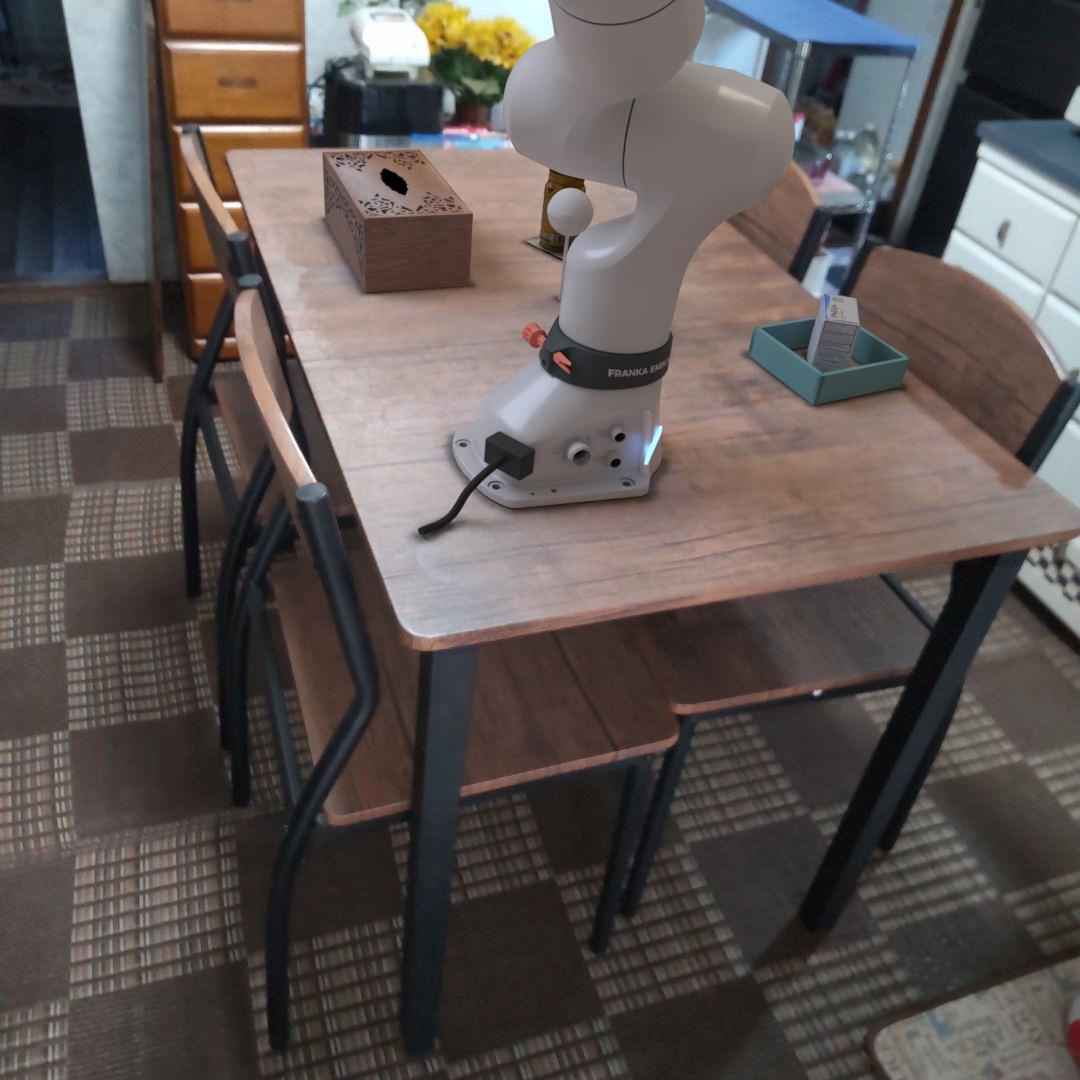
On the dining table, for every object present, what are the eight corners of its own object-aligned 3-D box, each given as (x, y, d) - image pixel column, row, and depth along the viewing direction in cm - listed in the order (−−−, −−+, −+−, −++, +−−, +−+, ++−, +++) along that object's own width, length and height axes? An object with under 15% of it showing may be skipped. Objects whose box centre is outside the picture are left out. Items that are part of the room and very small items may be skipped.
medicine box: (841, 388, 123) (862, 324, 118) (805, 382, 123) (824, 317, 118) (839, 360, 129) (858, 297, 124) (805, 353, 130) (822, 291, 124)
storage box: (813, 405, 119) (822, 376, 116) (747, 355, 128) (754, 326, 125) (900, 387, 125) (910, 358, 122) (831, 339, 134) (839, 312, 131)
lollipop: (560, 286, 139) (573, 178, 130) (591, 302, 136) (606, 192, 127) (528, 296, 135) (539, 186, 126) (559, 313, 132) (572, 201, 123)
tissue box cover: (325, 219, 150) (322, 151, 144) (418, 215, 155) (419, 149, 148) (365, 292, 131) (364, 218, 125) (469, 285, 136) (473, 213, 130)
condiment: (560, 233, 154) (568, 154, 147) (599, 252, 150) (610, 171, 142) (525, 242, 150) (532, 161, 143) (564, 262, 146) (574, 180, 138)
